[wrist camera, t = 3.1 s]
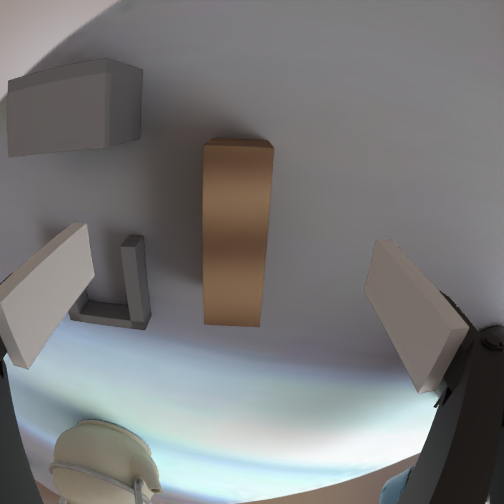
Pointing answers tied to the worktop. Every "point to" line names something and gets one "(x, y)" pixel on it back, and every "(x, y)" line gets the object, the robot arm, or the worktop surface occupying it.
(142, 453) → the kettle
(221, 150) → the walnut rail
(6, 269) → the worktop surface
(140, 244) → the open end cap
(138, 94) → the roofed end cap
